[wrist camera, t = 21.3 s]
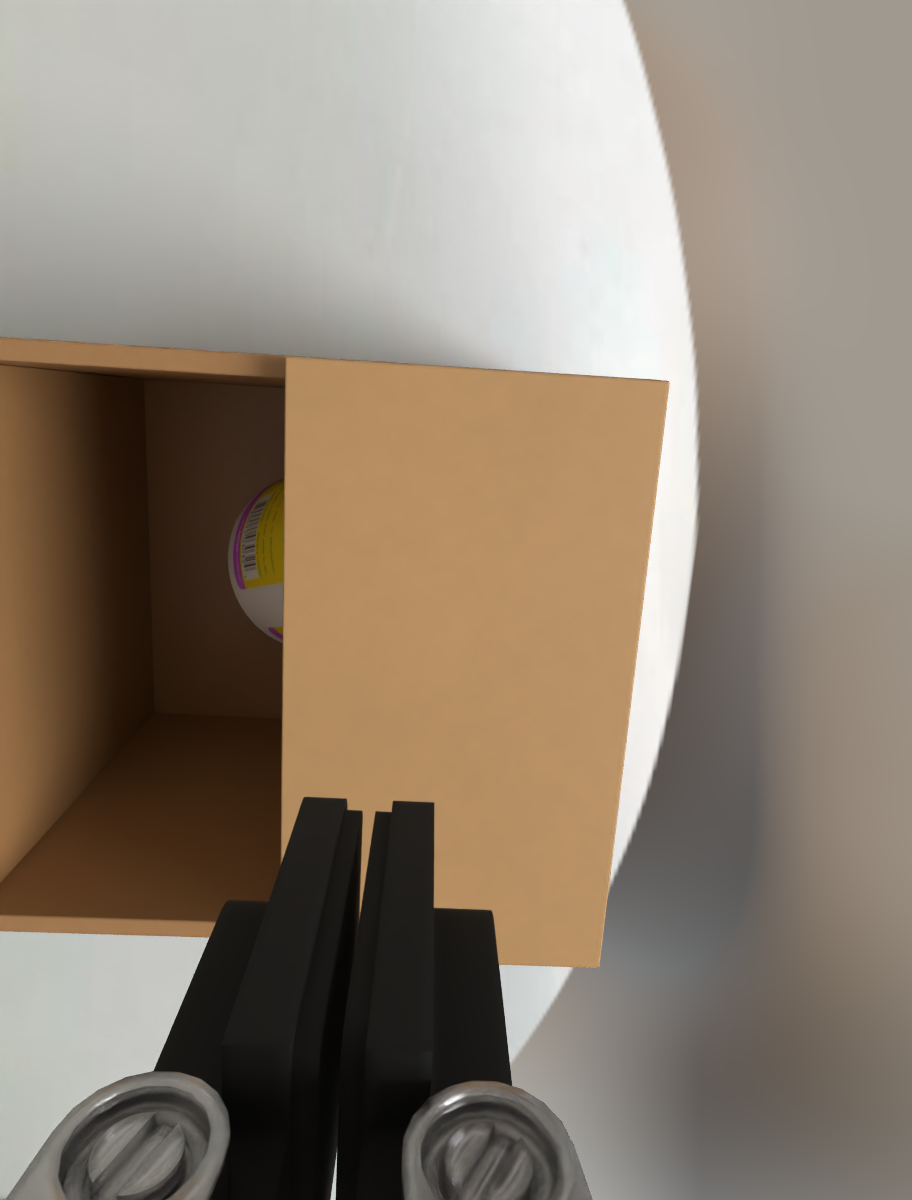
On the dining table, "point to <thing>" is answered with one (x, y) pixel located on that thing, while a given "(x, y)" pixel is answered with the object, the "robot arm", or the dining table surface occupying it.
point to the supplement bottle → (260, 559)
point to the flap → (470, 622)
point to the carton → (134, 638)
